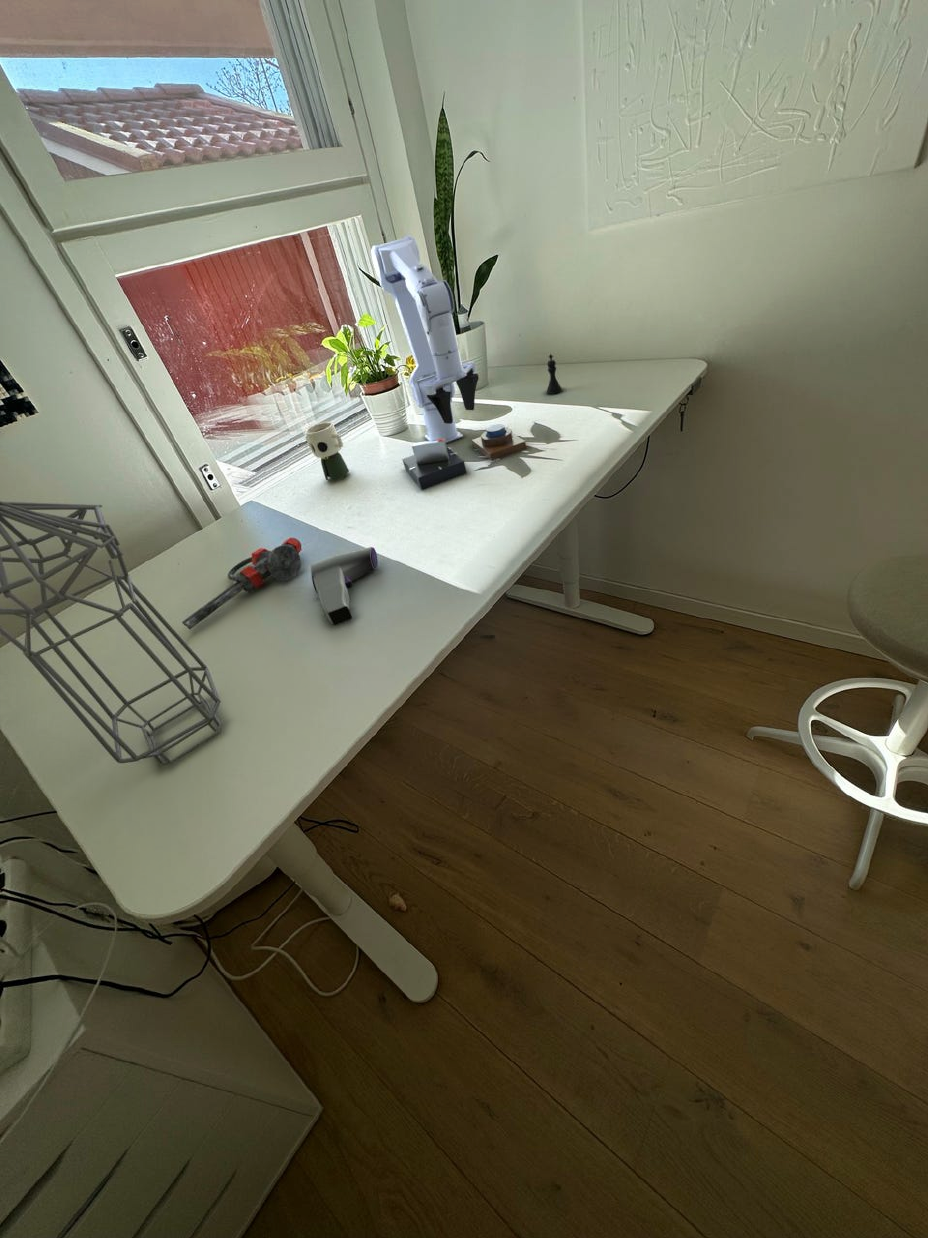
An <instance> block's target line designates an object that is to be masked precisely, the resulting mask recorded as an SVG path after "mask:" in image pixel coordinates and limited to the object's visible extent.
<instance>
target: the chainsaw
mask: <svg viewBox="0 0 928 1238" xmlns="http://www.w3.org/2000/svg"><path fill="white" fill-rule="evenodd" d="M302 550H303V549H302V543H301V542H300V540H299V539H298V538H295V537H288V538H287V539H286V540H284V541H283V542H282V544H281V545H278V546H276V547H274V548H273V549H272V550H268V549H266V548H263V547H260V548H259V549H257V550H255V551H253V552H252V553H251V557H247V558H245V559H244V560H241V561H240V562H238V563H237V564H236V565H234V566H233V567H232V568H230V570H229V571H228V573H227V578H228V580H229V581H232V582H233V581H234V582H235V583H233V584H232V585H230V586H229V587H227V588H226V589H225V590H224V591H222V592H221V593H219V594H218V595H217V596H215V597H214V598H213V599H211V600H210V601H209V602H207V603H206V604H205V605H203V606H202V607H200V608H199V609H197V610H196V611H195V612H193V613H192V614H191V615H190V616H188V617H187V618H185V619H184V620H183V621H181V623H182V624H183V625H184V627H187V628H188V629H189V630H191V629H193V628H194V627H195V626H196V625H198V624H200V622H202V621H204V619H206V618H208V616H210V615H211V614H213V613H214V612H215V611H217V610H219V608H221V607H222V606H224V605H225V604H226V603H227V602H229V601H230V600H232V599H233V598H234V597H235V596H236V595H237V596H238V595H239V593H240V592H242V591H244V592H247V593H249V592H251V591H256V590H257V589H259V588H260V587H261V586H262V585H263V584H264V583H265V581H266V580H267V579H268V578H270V577H271V576H272V577H274V579H277V580H280V581H289V580H292V579H293V578H295V577H297V575H298V574H299V572H300V570H301V567H302V559H301V556H300V553H301V551H302ZM248 564H252V566H251V565H248ZM246 565H248V566H246ZM245 566H246V567H245ZM243 567H244V568H243ZM241 568H243V569H242V570H241ZM239 570H241V571H240V572H239V574H238V575H235V574H236V572H238V571H239Z"/></svg>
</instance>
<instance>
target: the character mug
mask: <svg viewBox="0 0 928 1238" xmlns="http://www.w3.org/2000/svg"><path fill="white" fill-rule="evenodd" d="M304 433H305V440H306V442H307V445H308V447H309V448H310V449H311V452H312V455H314V456H315V458H318V459H320V464H321V467H322V471H323V475H324V478H325V480H326V481H331V482H335V481H338V480H341V479H343V478H345V476H347V474H348V473H350V469H349V468H348V466H347V463H346V462H345V459H344V458H343V456H342V454H341V453H340V452H339V451H341V450H342V448H343V447H344V442H343V439H342V437H341V435H340V434H339V433H338V432H337V430H336V427H335V424H334V423H333V422H332V421H323V422H320V423H316V424H313V425H310V427H308V428H306V429H305V431H304ZM329 478H330V479H329Z"/></svg>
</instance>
